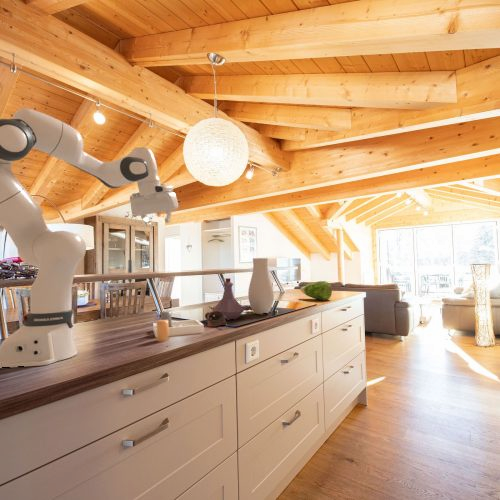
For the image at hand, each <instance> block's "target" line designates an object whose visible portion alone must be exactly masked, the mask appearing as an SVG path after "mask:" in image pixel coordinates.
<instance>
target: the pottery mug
mask: <svg viewBox="0 0 500 500" xmlns="http://www.w3.org/2000/svg"><path fill="white" fill-rule="evenodd" d="M204 317H205V319H206V322H207V327H211V328H212V327H217V326H220V325H223V326H225V325H226V326H227V320H225V319H224V318H227V317H226V316H225V315H224V313H223V312H221V311H218V310H216V311H213V310H212V311H210V312H206V313H205V314H204Z"/></svg>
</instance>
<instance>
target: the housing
mask: <svg viewBox="0 0 500 500" xmlns="http://www.w3.org/2000/svg"><path fill="white" fill-rule="evenodd" d="M204 326H205V325H204V323H202V322H201V321H200V320H198V319H188V320H187V319H186V320H176V321H174V320H173V321H172V320H171V327H169V337H174V336H175V337H176V336H185V335H186V336H187V335H194V334H204V332H205V327H204ZM152 331H153V334H154V336H155V338H157V322H153V323H152Z"/></svg>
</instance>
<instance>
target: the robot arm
mask: <svg viewBox="0 0 500 500" xmlns="http://www.w3.org/2000/svg"><path fill="white" fill-rule="evenodd" d="M84 146H85V145H84V139H83V136H82V135H81V133H80V132H79V131H78V130H77V129H76V128H74V127H73V126H71V125H69V123H65V122H64V121H62V120H60V119H58V118H56V117H53V116H51V115H49V114H46V113H43V112H40V111H37V110H35V109H32V108H26V107H25V108H20V109H18V110H17V111H16V112H15V113H13V115H12V117H11V118H0V226H1V227H2V228H3V229H4V231H6V233H7V234H8V235H9V237H10V239H11V240H12V242H13V244H14V246H15V247H16V248H17V254H18V255H17V256H18V257H19V259H20V260H21V261H22V262H24V263H25V264H28V265H30V266H32V267H37V268H38V272H37V275H36V276H35V277H36V278H35V280H34V281H33V283H32V284H31V286H30V288H29V289H30V291H29V292H30V293H29V294H30V295H29V296H30V303H29V304H30V307H29V310H30V312H26V313H25V314H24V315H22V317H21V322H22V326H20V327H19V328H18V329H17V330H15V331H14V332H13V333H12V334H10V335H9V336H7V338H5V339H4V340H3V341H2V342H1V344H0V369H3V368H2V367H10V368H19V367H18V366H24V367H36V366H39V367H40V366H47V365H50V364H53V363H56V362H59V361H63V360H66V359H67V360H68V359H69V358H72V357H74V356H75V355H77V354H78V350H77V346H76V344H75V343H76V342H75V339H74V332H73V327H74V316H75V315H74V310H73V308H72V303H73V302H72V299H73V297H72V296H73V295H72V294H73V293H72V292H73V290H72V289H73V282H74V277H75V274H76V270H77V268H78V266H79V263H80V262H81V261H82V260H83V259H84V258H85V255H86V252H87V246H86V242H85V241H84V239H83V237H82V236H80V234H79V235H78V234H77V233H74V232H72V231H65V230H58V231H52V230H50V228H49V227H48V226H47V224H46V222H45V220H44V218H43V217H44V216H43V210H42V208H41V206H40V205H39V204H38V203H37V202H36V200H35V199H34V198H33V196H32V195H31V194H30V193H29V192H28V191H27V189H26V188H25V187H24V186H23V185H22V183H21V182H20V181H19V180H18V179H17V178H16V176H15V175H14V173H13V170H12V163H15V162H16V161H20V160H22V159H23V158H26V156H27V155H29V153H30V151H31V150H32V149H34V150H38V151H40V152H43V153H44V154H46V155H49V156H52V157H53V158H57V159H59V160H61V161H63V162H65V163H67V164H69V166H72V167H74V168H76V169H78V170H80V171H82V172H84V173H86V174H88V175H91V177H94V178H96V179H97V180H98V181H99V182H101V183H102V185H104V186H105V187H107V188H110V189H113V190H114V189H118V188H121V187H123V186H127V185H130V184H134V183H137V188H138V192H136V193H132V194H131V195H130V196H129V201H130V209H131V215H133V217H139V216H140V219H141V220H142V221H143V222H144V225H145V226H146V227H148V226H151V225H152V222H151V220H148V215H151V214H157V213H162V212H165V214H166V218H164V222H165V223H166V224H168V223H171V217H172V211H175V210H177V209H179V201H178V198H177V195H176V193H175V192H174V186H173V185H171V184H164V183H163V184H162V182H161V179H160V177H159V173H158V170H159V169H158V166H157V165H158V164H157V161H156V158H155V155H154V153H153V151H152V150H151V149H149V148H148V147H147V148H146V147H135V148H133V149H132V150H131V152H129V153H128V154H126V155H124V156H123V157H121V158H118V159H116V160H112V161H102V160H99V159H97V158H96V157H94V156H93V155H90V154H89V153H87V152H85V151H84Z"/></svg>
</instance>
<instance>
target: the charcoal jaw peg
mask: <svg viewBox="0 0 500 500" xmlns="http://www.w3.org/2000/svg"><path fill="white" fill-rule="evenodd" d="M160 320H169V327H171V322H172V311H169V310H167V311H160Z"/></svg>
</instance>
